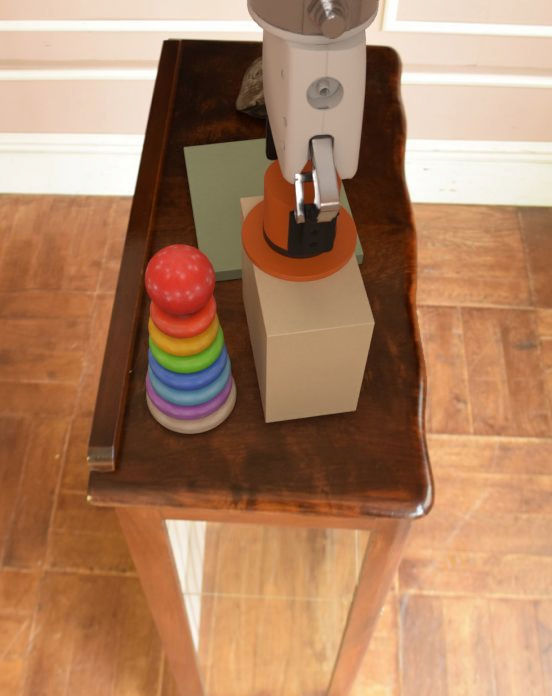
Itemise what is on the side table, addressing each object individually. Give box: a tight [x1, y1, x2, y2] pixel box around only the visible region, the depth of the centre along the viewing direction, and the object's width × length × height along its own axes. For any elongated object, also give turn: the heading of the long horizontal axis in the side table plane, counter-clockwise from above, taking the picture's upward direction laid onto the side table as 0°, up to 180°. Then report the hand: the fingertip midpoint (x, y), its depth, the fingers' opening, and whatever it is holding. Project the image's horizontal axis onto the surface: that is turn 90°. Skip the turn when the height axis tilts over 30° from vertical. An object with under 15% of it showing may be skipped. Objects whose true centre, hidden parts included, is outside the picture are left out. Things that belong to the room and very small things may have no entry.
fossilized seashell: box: [234, 55, 267, 120], centre depth 88 cm, size 8×7×10 cm
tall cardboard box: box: [240, 195, 376, 424], centre depth 66 cm, size 8×14×14 cm, turn 9°
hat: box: [242, 159, 358, 282], centre depth 58 cm, size 9×9×6 cm
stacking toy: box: [144, 243, 238, 435], centre depth 62 cm, size 8×8×19 cm
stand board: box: [183, 137, 364, 282], centre depth 81 cm, size 16×18×2 cm
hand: (297, 201), depth 58 cm, fingers open, 9 cm apart
